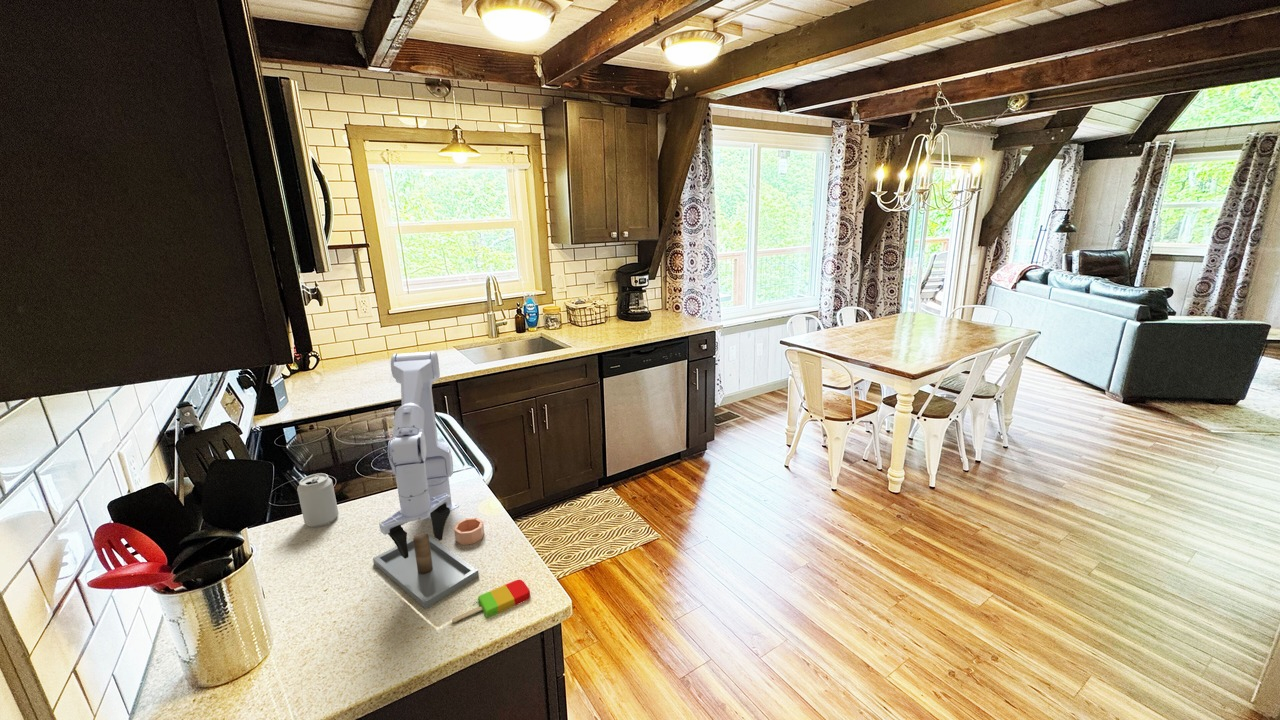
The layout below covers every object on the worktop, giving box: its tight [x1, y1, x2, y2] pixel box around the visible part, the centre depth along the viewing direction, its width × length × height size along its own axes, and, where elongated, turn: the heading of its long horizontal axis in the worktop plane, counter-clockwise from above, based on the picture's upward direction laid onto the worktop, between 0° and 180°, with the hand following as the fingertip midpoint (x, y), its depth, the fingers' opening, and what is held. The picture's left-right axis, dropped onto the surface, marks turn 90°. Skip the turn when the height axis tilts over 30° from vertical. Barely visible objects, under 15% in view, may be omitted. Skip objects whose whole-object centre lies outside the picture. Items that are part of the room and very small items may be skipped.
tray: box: [372, 535, 480, 610], centre depth 109 cm, size 22×12×2 cm, turn 51°
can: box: [296, 472, 339, 528], centre depth 128 cm, size 8×8×12 cm
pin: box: [413, 532, 433, 574], centre depth 108 cm, size 3×3×8 cm
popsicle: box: [451, 579, 531, 624], centre depth 99 cm, size 6×15×2 cm, turn 125°
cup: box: [453, 517, 485, 546], centre depth 120 cm, size 6×6×4 cm
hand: (421, 547), depth 108 cm, fingers open, 7 cm apart
